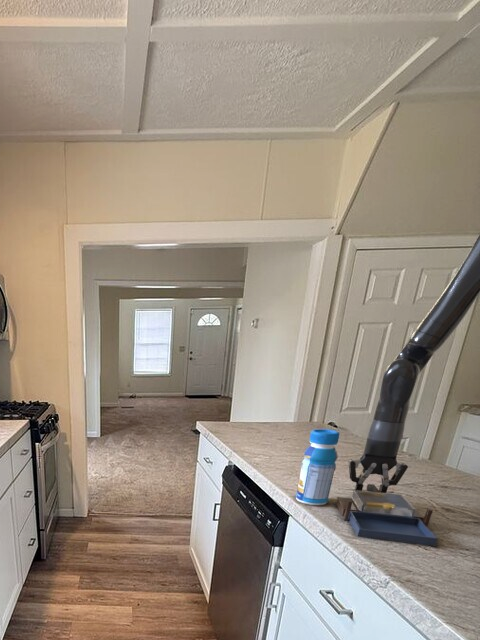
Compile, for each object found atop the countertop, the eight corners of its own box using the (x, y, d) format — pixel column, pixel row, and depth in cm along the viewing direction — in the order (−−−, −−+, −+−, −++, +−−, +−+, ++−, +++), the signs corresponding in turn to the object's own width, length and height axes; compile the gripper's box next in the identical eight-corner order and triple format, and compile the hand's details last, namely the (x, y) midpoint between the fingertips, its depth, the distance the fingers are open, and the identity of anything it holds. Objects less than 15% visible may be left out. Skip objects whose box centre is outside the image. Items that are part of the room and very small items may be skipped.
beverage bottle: (314, 508, 110) (329, 435, 102) (288, 498, 117) (301, 430, 109) (334, 503, 113) (350, 432, 105) (308, 494, 120) (322, 427, 112)
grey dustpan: (391, 494, 112) (393, 486, 111) (412, 518, 97) (415, 509, 96) (346, 490, 116) (348, 482, 115) (360, 512, 100) (362, 503, 100)
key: (392, 505, 104) (393, 503, 104) (395, 508, 102) (396, 507, 101) (365, 502, 106) (365, 500, 106) (367, 505, 104) (367, 504, 103)
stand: (409, 511, 107) (415, 493, 105) (426, 530, 96) (433, 510, 94) (335, 503, 113) (339, 486, 111) (344, 520, 102) (348, 501, 100)
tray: (416, 525, 99) (419, 518, 98) (435, 546, 88) (438, 538, 88) (347, 517, 104) (349, 510, 103) (357, 536, 93) (359, 529, 93)
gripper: (411, 436, 108) (394, 495, 115) (351, 433, 113) (337, 490, 119) (421, 442, 102) (402, 504, 108) (356, 438, 106) (342, 498, 113)
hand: (368, 496), depth 114 cm, fingers open, 4 cm apart
